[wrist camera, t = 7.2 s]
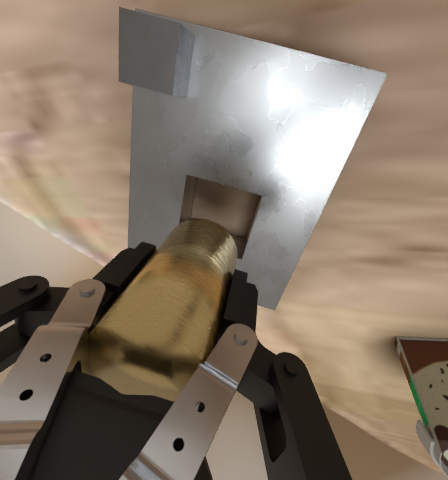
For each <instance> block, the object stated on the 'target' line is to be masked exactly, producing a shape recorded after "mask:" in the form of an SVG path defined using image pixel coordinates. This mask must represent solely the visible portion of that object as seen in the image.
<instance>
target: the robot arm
mask: <svg viewBox="0 0 448 480" xmlns="http://www.w3.org/2000/svg"><path fill="white" fill-rule="evenodd" d="M155 251H156V245H153V244H150V243H146V242H143V241H142V242H141V243H140V244H139V245H138V246H137V247H136V248H135V249H134V248H127V249H125V250H123V251H121V252H120V253H119V254H118V255H117V256H116V257H115V258H114V259H112V260H111V261H110V263H108V264H107V265H106V266H105V267H104V268H103V269H102V270H101V271H100V272H99V273H98V274H97V275H96V276H95V277H94V278H93V279H86V280H82V281H79V282H77V283H75V284H74V285H72V286H71V287H70V288H64V287H50V286H49V282H48V280H47V279H46V278H44V277H41V276H26V277H23V278H20V279H17V280H15V281H12V282H10V283H8V284H6V285H3V286H1V287H0V327H1V326H3V325H5V324H7V323H8V322H10V321H12V320H15V324H13V325H11V326H10V327H8V328H6V329H4V330H3V331H1V332H0V372H2V371H3V370H5V369H6V368H8V367H9V366H11V365H12V364H14V363H15V362H16V363H15V364H14V366H13V367H12V369H11V371H10V372H9V374H8V375H7V377H6V379H5V380H4V382H3V383H2V385H1V387H0V480H213V479H212V475H211V472H210V469H209V466H208V463H207V459H206V456H205V455H206V453H207V451H208V449H209V447H210V445H211V443H212V441H213V439H214V436H215V434H216V432H217V430H218V428H219V426H220V424H221V421H222V419H223V417H224V415H225V413H226V411H227V409H228V406H229V404H230V402H231V400H232V398H233V396H234V394H235V392H236V390H237V391H238V392H239V393H241V394H242V395H243V396H245V397H246V398H248V399H249V400H250V401H252V402H253V403H254V409H255V414H256V419H257V424H258V429H259V434H260V440H261V445H262V450H263V455H264V460H265V466H266V470H267V476H268V480H352V478H351V476H350V473H349V471H348V468H347V466H346V463H345V461H344V458H343V456H342V454H341V451H340V449H339V446H338V444H337V441H336V439H335V436H334V434H333V431H332V429H331V427H330V424H329V422H328V419H327V417H326V414H325V412H324V409H323V407H322V404H321V402H320V399H319V397H318V394H317V392H316V390H315V387H314V385H313V382H312V380H311V377H310V375H309V372H308V370H307V368H306V366H305V364H304V363H303V362H302V360H300V359H299V358H298V357H297V356H295V355H293V354H291V353H287V352H282V353H279V354H278V355H276V354H274V353H272V352H271V351H269V350H268V349H266V348H265V347H264V346H263V345H262V344H261V343H260V342H259V340H258V339H257V336H256V333H255V328H256V315H257V302H258V301H257V300H258V290H257V288H256V286H255V284H251V283H248V282H247V276H248V272H244V271H241V270H237V269H235V270H234V273H233V276H232V280H231V284H230V289H229V293H228V297H227V301H226V305H225V310H224V314H223V318H222V322H221V327H220V333H219V338H218V342H217V345H216V346H215V348H214V349H213V351H212V352H211V354H210V355H209V357H208V358H207V360H206V361H205V362H204V363H203V362H202V363H201V364H200V365H199V367H198V368H197V369H196V371H195V372H194V374H193V375H192V377H191V378H190V380H189V381H188V383H187V384H186V386H185V387H184V389H183V390H182V392H181V393H180V395H179V396H178V398H177V399H176V400H175V402H173V401H170V400H167V399H164V398H161V397H157V396H154V395H126V394H122V393H120V392H118V391H117V390H116V389H114V388H113V387H111V386H110V385H109V384H107V383H106V382H105V381H103V380H102V379H100V378H98V377H95V376H92V375H91V364H90V351H89V339H88V334H89V333H90V332H91V330H92V329H93V328H94V327H95V325H96V324H97V323H98V322H99V321H100V319H101V318H102V317H103V316H104V314H105V313H106V312H107V311H108V309H109V308H110V307H111V306H112V304H113V303H114V302H115V301H116V300H117V298H118V297H119V296H120V295H121V293H122V292H123V291H124V290H125V288H126V287H127V286H128V285H129V284H130V282H131V281H132V280H133V279H134V277H135V276H136V275H137V274H138V272H139V271H140V270H141V269H142V267H143V266H144V265H145V264H146V263H147V261H148V260H149V259H150V258H151V256H152V255H153V254H154V253H155Z"/></svg>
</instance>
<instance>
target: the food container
mask: <svg viewBox="0 0 448 480" xmlns="http://www.w3.org/2000/svg"><path fill="white" fill-rule="evenodd" d="M395 347H396V349H397V352H398V355H399V358H400V360H401V363H402V366H403V369H404V372H405V374H406V377H407V380H408V383H409V385H410V388H411V391H412V394H413V397H414V399H415V402H416V405H417V408H418V411H419V413H420V416H421V419H422V422H423V424H424V425H423V424H422V422H421V421H420V420H417V424H416V430H417V434H418V437H419V439H420V441H421V442H422V444H423V445H424V447H425V448H426V450H427V452H428V453H429V455H430V456H431V458H432V459H433V461H434V462H435V463H436V465H437V466H438V467H439V468H441V470H442V471H443V473H444V474H445V475H446V476H447V477H448V339H447V338H423V337H398V336H395Z"/></svg>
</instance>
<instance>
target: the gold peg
mask: <svg viewBox="0 0 448 480" xmlns="http://www.w3.org/2000/svg"><path fill="white" fill-rule="evenodd" d="M236 261H237V247H236V244H235V241H234V240H233V238H232V236H231V235H230V234H229V233H228V231H227V230H225V229H224V228H223V227H222V226H220V225H219V224H217V223H215V222H212V221H209V220H205V219H190V220H186V221H184V222H182V223H180V224H179V225H177V226H176V227H175V228H174V229H173V230H172V232H171V233H170V234H169V235H168V237H167V238H166V239H165V240H164V242H163V243H162V244H161V245H160V246H159V248H158V249H157V250H156V251H155V253H154V254H153V255H152V256H151V258H150V259H149V260H148V261H147V263H146V264H145V265H144V266H143V267H142V269H141V270H140V271H139V272H138V274H137V275H136V276H135V277H134V279H133V280H132V281H131V282H130V284H129V285H128V286H127V287H126V288H125V290H124V291H123V292H122V293H121V295H120V296H119V297H118V298H117V300H116V301H115V302H114V303H113V304H112V306H111V307H110V308H109V309H108V311H107V312H106V313H105V314H104V316H103V317H102V318H101V319H100V321H99V322H98V323H97V324H96V325H95V327H94V328H93V329H92V330H91V332H90V333H89V334H88V339H89V351H90V364H91V375H92V376H95V377H98V378H100V379H102V380H103V381H105V382H106V383H107V384H109V385H110V386H111V387H113V388H114V389H116V390H117V391H118V392H120V393H122V394H126V395H154V396H157V397H161V398H164V399H167V400H170V401H173V402H175V400H176V399H177V398H178V396H179V395H180V393H181V392H182V390H183V389H184V387H185V386H186V384H187V383H188V381H189V380H190V378H191V377H192V375H193V374H194V372H195V371H196V369H197V368H198V367H199V365H200V364H201V363H202V362H203V363H204V362H205V361H206V360H207V358H208V357H209V355H210V354H211V352H212V351H213V349H214V348H215V346H216V345H217V342H218V338H219V333H220V327H221V322H222V318H223V314H224V310H225V305H226V301H227V297H228V293H229V289H230V284H231V280H232V276H233V273H234V269H235V265H236Z"/></svg>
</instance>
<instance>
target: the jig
mask: <svg viewBox="0 0 448 480" xmlns="http://www.w3.org/2000/svg"><path fill="white" fill-rule="evenodd" d="M386 76H387V73H383V72H379V71H375V70H372V69H368V68H364V67H360V66H356V65H352V64H348V63H344V62H341V61H337V60H333V59H329V58H325V57H321V56H317V55H314V54H310V53H306V52H302V51H298V50H294V49H290V48H286V47H283V46H279V45H275V44H271V43H267V42H263V41H259V40H255V39H252V38H248V37H244V36H240V35H236V34H232V33H228V32H225V31H221V30H217V29H213V28H209V27H205V26H201V25H197V24H194V23H190V22H186V21H182V20H178V19H174V18H170V17H167V16H163V15H159V14H155V13H151V12H147V11H143V10H139V9H136V11H132V10H129V9H125V8H121V7H119V81H120V82H124V83H127V84H131V85H133V104H132V135H131V166H130V196H129V227H128V248H134V249H135V248H136V247H137V246H138V245H139V244H140V243H141V242H142V241H143V242H146V243H150V244H153V245H156V250H157V249H158V248H159V246H160V245H161V244H162V243H163V242H164V240H165V239H166V238H167V237H168V235H169V234H170V233H171V232H172V230H173V229H174V228H175V227H176V226H177V225H179V224H180V223H182V222H184V221H186V220H190V215H191V210H192V204H193V198H194V193H195V187H196V181H197V177H198V178H201V179H205V180H208V181H212V182H215V183H219V184H222V185H226V186H229V187H233V188H236V189H240V190H243V191H247V192H250V193H254V194H257V195H260V198H259V201H258V204H257V207H256V210H255V213H254V216H253V220H252V223H251V226H250V229H249V232H248V235H247V238H246V239H244V238H240V237H237V236H233V235H231V236H232V238H233V240H234V241H235V244H236V247H237V261H236V265H235V269H237V270H241V271H244V272H248V276H247V282H248V283H251V284H255V286H256V288H257V290H258V300H257V301H258V302H257V305H259V306H263V307H266V308H269V309H272V310H275V309H276V307H277V305H278V302H279V300H280V298H281V296H282V294H283V292H284V290H285V288H286V286H287V284H288V281H289V279H290V277H291V275H292V273H293V271H294V269H295V267H296V265H297V263H298V260H299V258H300V256H301V254H302V252H303V250H304V248H305V246H306V244H307V242H308V239H309V237H310V235H311V233H312V231H313V229H314V227H315V225H316V223H317V221H318V218H319V216H320V214H321V212H322V210H323V208H324V206H325V204H326V202H327V200H328V197H329V195H330V193H331V191H332V189H333V187H334V185H335V183H336V181H337V179H338V177H339V174H340V172H341V170H342V168H343V166H344V164H345V162H346V160H347V158H348V156H349V153H350V151H351V149H352V147H353V145H354V143H355V141H356V139H357V137H358V135H359V132H360V130H361V128H362V126H363V124H364V122H365V120H366V118H367V116H368V114H369V111H370V109H371V107H372V105H373V103H374V101H375V99H376V97H377V95H378V93H379V90H380V88H381V86H382V84H383V82H384V80H385V78H386ZM235 269H234V270H235Z"/></svg>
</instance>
